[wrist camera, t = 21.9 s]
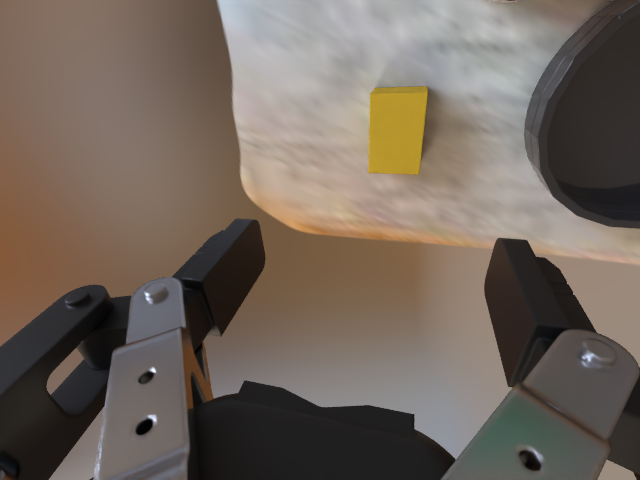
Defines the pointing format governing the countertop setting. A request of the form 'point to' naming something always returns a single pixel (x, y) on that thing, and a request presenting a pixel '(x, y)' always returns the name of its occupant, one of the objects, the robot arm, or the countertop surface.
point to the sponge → (397, 129)
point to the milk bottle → (504, 1)
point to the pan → (592, 119)
